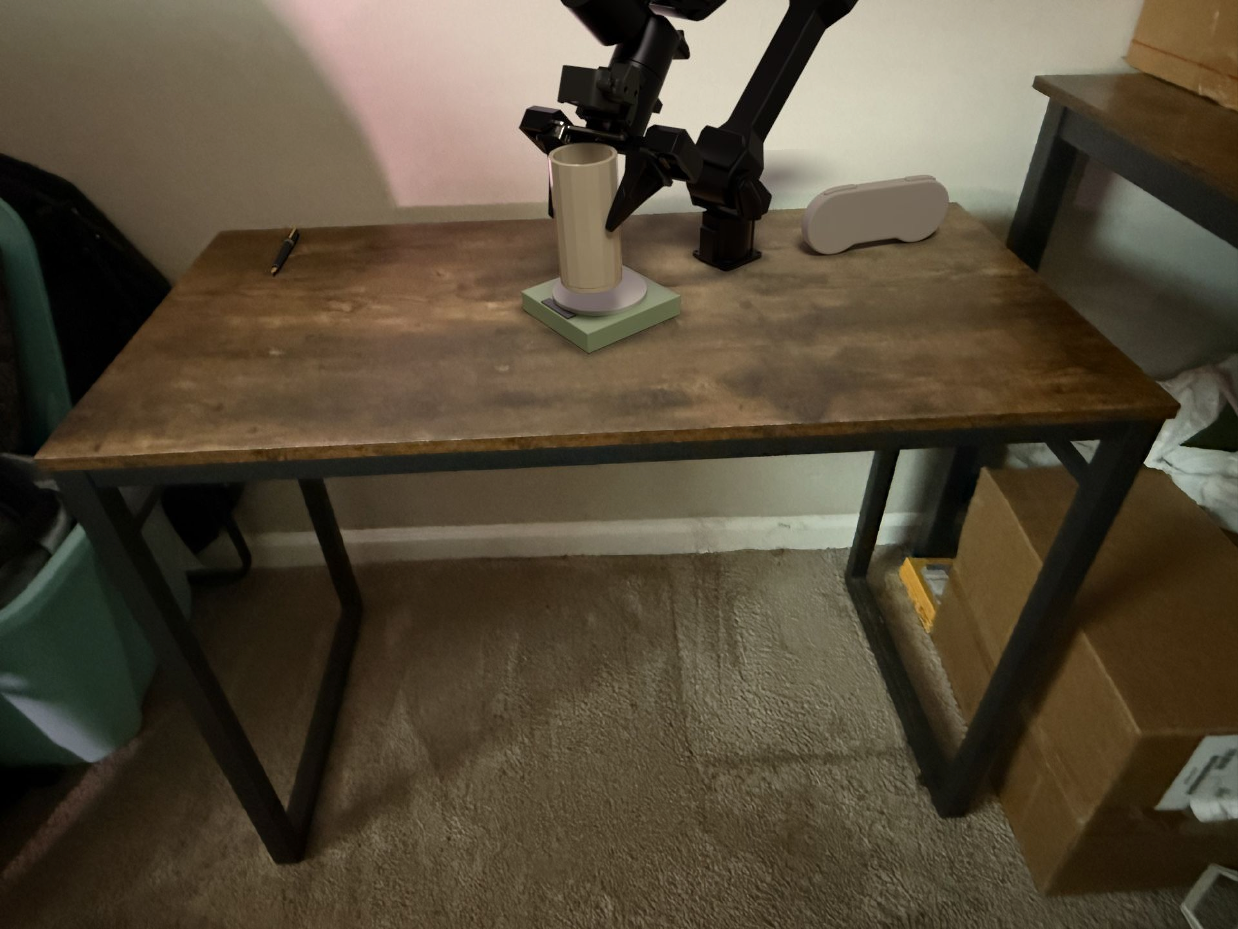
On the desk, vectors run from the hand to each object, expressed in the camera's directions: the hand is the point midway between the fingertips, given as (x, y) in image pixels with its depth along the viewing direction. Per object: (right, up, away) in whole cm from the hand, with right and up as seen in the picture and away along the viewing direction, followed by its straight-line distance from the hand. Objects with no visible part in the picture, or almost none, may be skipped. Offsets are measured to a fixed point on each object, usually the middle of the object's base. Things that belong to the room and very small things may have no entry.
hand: (579, 223), depth 80 cm
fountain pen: (-41, +4, +29) cm, 50 cm away
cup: (+1, -4, +5) cm, 7 cm away
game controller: (+37, +4, +25) cm, 44 cm away
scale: (+2, -6, +13) cm, 15 cm away
